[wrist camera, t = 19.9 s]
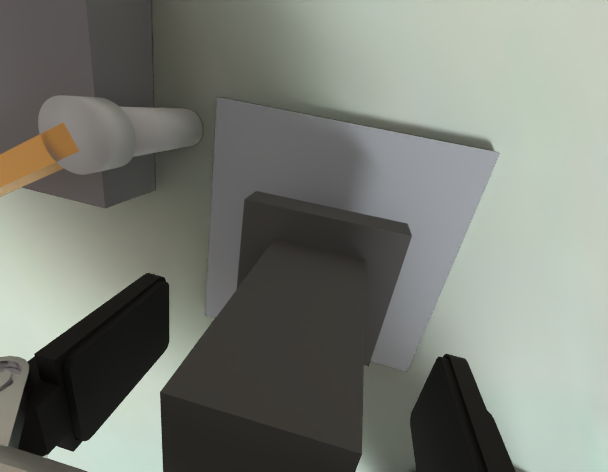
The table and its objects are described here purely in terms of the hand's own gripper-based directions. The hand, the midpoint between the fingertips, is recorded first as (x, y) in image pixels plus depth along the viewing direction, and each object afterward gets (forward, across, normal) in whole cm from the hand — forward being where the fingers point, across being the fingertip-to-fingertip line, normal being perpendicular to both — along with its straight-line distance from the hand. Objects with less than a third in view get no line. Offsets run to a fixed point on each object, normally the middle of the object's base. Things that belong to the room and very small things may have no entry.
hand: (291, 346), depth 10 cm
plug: (+8, 0, 0) cm, 8 cm away
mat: (+9, 0, 0) cm, 9 cm away
